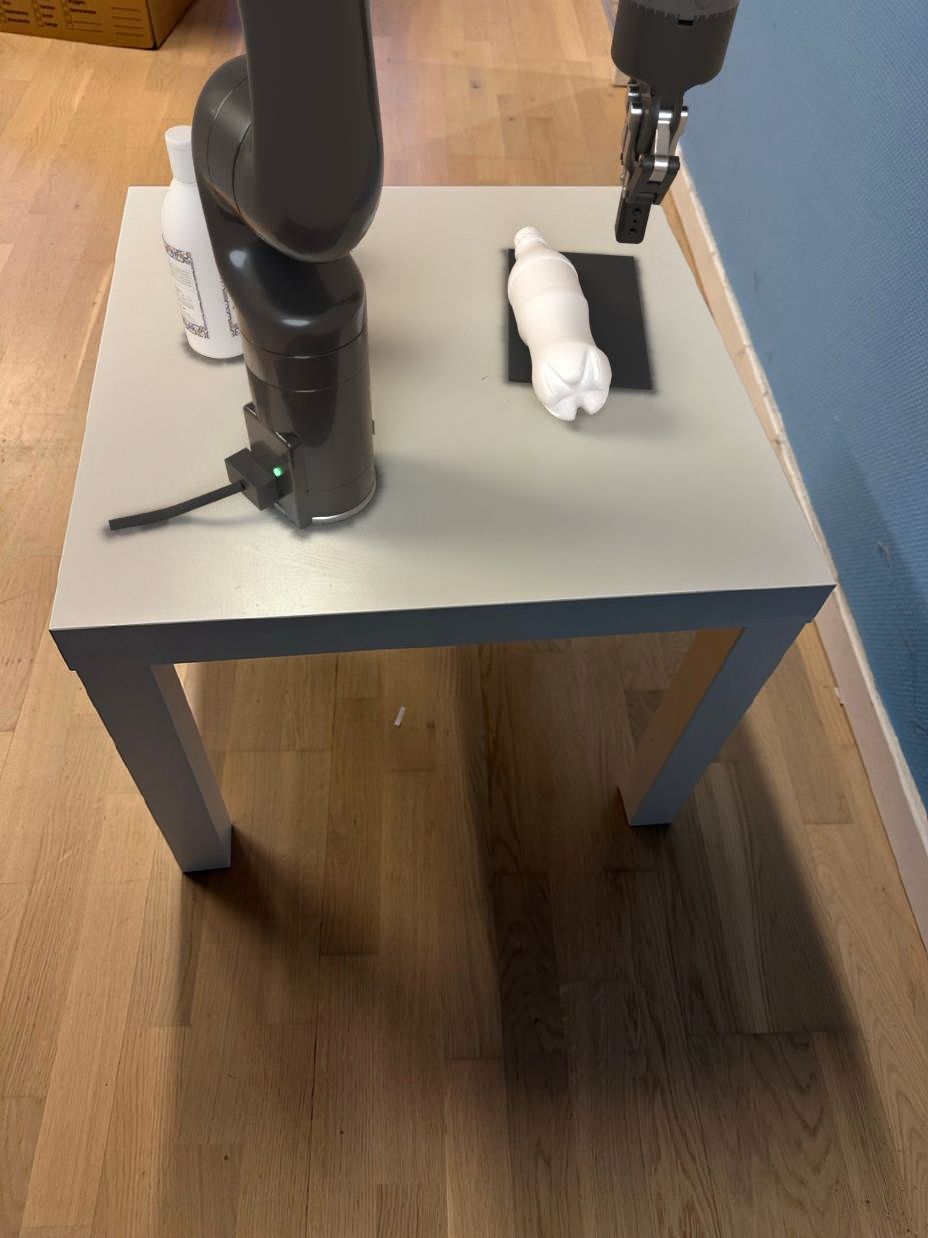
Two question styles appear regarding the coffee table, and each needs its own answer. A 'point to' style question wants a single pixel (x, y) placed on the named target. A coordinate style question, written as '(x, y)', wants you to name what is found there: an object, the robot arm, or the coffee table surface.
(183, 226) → the bath foam
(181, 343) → the coffee table surface
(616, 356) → the mat
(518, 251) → the water bottle
